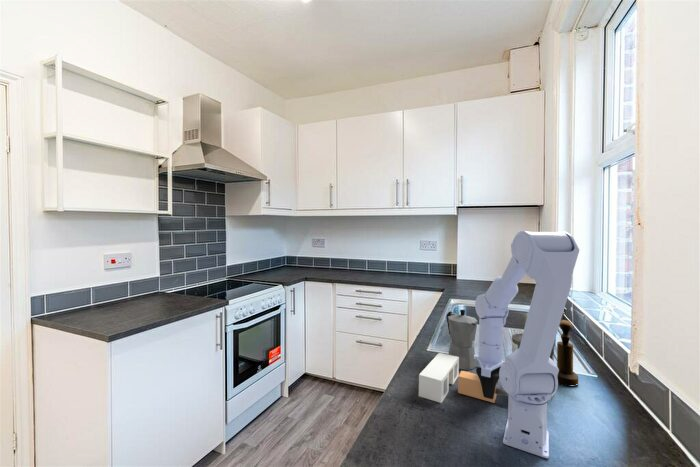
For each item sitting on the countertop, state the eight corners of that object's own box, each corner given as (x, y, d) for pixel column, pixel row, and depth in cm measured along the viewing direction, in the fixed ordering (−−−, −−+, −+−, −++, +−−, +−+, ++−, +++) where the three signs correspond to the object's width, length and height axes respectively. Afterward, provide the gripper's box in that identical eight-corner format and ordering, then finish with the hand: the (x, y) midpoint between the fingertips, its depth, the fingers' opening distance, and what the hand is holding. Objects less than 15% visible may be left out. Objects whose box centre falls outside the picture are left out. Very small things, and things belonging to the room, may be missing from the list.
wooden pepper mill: (554, 374, 97) (555, 316, 96) (580, 381, 92) (581, 320, 92) (548, 381, 92) (550, 320, 92) (575, 389, 87) (577, 325, 87)
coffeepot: (487, 371, 98) (488, 314, 98) (461, 374, 95) (462, 315, 95) (458, 352, 113) (459, 302, 113) (434, 355, 110) (435, 304, 110)
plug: (512, 408, 77) (512, 389, 77) (457, 392, 84) (458, 376, 84) (513, 400, 80) (513, 383, 80) (461, 386, 87) (461, 370, 87)
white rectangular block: (441, 403, 79) (442, 380, 79) (418, 396, 83) (419, 374, 83) (458, 375, 95) (459, 357, 94) (438, 370, 98) (439, 352, 98)
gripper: (479, 331, 90) (478, 378, 90) (468, 347, 78) (467, 401, 78) (506, 336, 86) (505, 385, 86) (500, 353, 74) (498, 410, 74)
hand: (489, 393), depth 82 cm, fingers closed on plug, 4 cm apart
